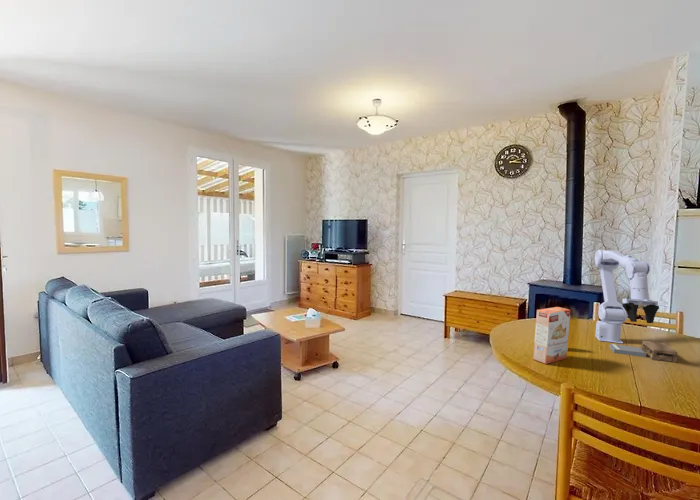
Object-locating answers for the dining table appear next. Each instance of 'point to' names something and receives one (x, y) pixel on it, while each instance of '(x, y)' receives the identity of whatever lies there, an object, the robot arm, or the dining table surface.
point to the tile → (627, 350)
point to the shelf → (659, 351)
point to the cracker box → (551, 334)
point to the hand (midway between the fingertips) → (641, 322)
